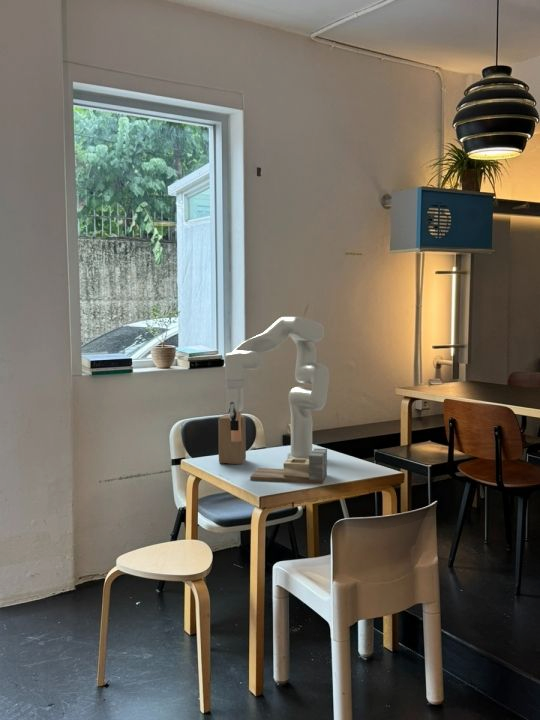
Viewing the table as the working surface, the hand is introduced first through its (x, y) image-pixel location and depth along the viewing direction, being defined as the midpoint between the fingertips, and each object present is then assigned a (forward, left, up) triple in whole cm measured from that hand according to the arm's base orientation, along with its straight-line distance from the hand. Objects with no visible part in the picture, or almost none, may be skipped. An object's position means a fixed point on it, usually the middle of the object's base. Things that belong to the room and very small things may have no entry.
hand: (236, 428), depth 276 cm
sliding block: (+1, +25, -17) cm, 31 cm away
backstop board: (+1, +22, -18) cm, 29 cm away
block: (-21, -7, -19) cm, 29 cm away
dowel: (0, 0, -5) cm, 5 cm away
